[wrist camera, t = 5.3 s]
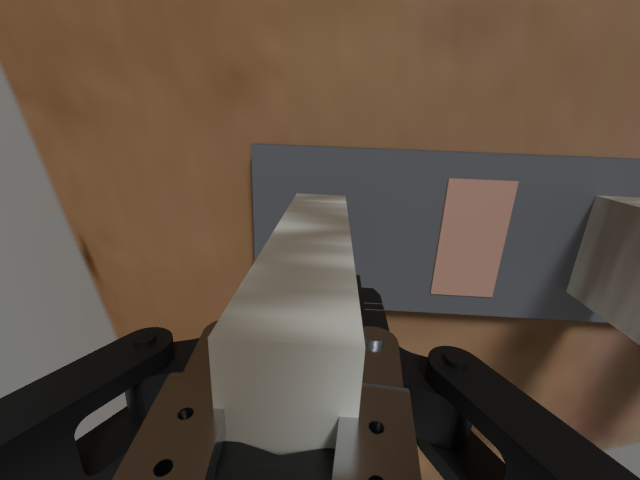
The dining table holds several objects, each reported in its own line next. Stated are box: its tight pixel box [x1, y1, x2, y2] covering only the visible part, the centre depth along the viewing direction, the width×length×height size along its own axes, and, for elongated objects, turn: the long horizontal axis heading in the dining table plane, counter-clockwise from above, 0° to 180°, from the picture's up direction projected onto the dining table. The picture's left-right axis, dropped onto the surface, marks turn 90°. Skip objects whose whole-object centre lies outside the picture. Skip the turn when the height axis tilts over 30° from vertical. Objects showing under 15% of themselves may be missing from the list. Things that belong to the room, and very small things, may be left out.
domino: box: [208, 193, 365, 455], centre depth 12 cm, size 2×6×12 cm, turn 178°
